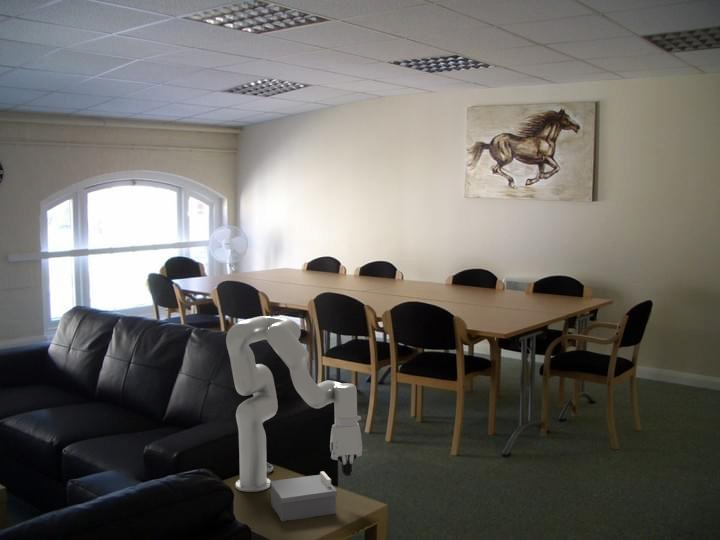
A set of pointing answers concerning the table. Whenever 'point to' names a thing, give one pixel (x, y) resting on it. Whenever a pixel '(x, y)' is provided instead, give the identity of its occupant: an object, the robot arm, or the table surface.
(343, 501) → the table surface
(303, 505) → the base
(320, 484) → the lid
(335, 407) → the robot arm
